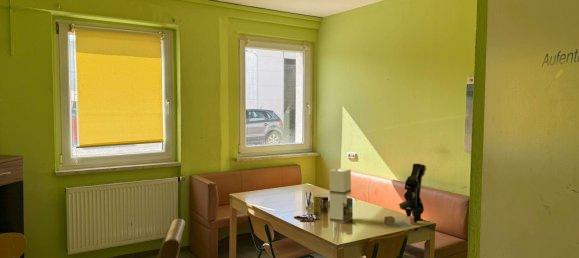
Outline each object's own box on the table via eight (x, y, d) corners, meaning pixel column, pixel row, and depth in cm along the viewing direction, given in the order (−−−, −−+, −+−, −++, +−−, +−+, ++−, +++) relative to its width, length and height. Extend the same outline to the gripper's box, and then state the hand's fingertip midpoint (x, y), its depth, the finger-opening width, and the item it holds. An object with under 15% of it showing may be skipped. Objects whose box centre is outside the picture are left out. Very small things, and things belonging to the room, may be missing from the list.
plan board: (379, 224, 285) (379, 223, 285) (403, 222, 288) (403, 221, 288) (386, 229, 274) (386, 227, 274) (411, 227, 277) (411, 225, 277)
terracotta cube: (406, 224, 286) (406, 216, 286) (413, 223, 287) (413, 216, 287) (410, 226, 281) (410, 218, 281) (417, 225, 282) (417, 218, 282)
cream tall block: (344, 223, 290) (343, 171, 288) (330, 221, 295) (329, 170, 293) (351, 219, 299) (350, 169, 298) (337, 217, 305) (336, 168, 303)
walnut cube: (384, 224, 282) (384, 216, 282) (391, 223, 283) (391, 216, 283) (387, 226, 277) (387, 218, 277) (394, 225, 278) (394, 218, 278)
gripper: (394, 195, 291) (394, 218, 292) (407, 201, 272) (407, 225, 273) (409, 194, 293) (409, 217, 294) (423, 200, 275) (423, 224, 275)
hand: (412, 220), depth 284 cm, fingers open, 9 cm apart
